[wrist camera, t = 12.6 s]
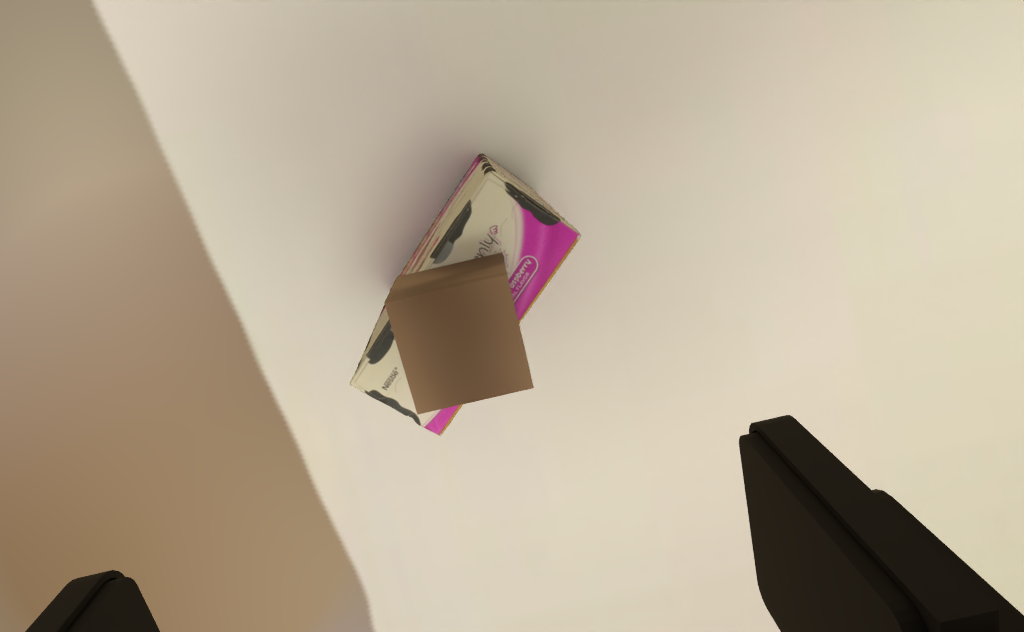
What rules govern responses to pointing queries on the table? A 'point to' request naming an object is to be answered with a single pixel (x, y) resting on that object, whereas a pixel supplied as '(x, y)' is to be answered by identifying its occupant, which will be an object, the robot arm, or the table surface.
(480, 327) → the walnut block
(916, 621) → the robot arm
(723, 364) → the table surface
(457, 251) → the candy bar box
